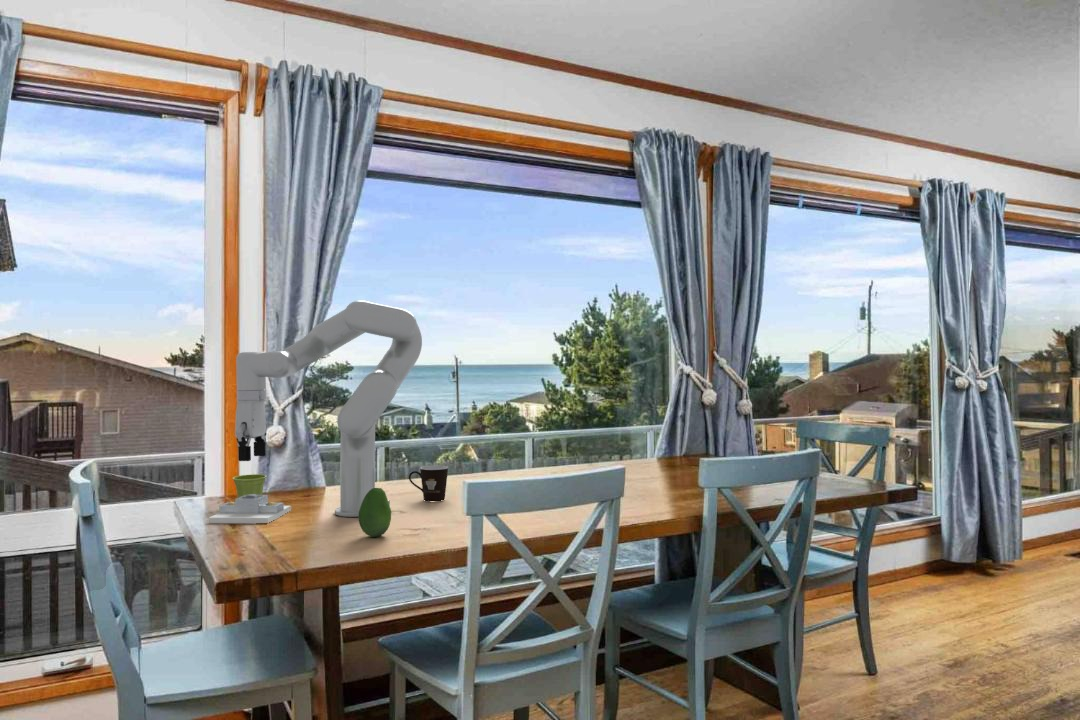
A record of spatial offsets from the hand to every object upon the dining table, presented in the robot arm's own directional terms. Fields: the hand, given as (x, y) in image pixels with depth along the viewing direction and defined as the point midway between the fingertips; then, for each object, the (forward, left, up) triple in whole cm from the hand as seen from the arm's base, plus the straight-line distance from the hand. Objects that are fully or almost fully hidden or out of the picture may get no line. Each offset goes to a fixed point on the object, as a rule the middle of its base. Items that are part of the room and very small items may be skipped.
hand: (252, 458), depth 202 cm
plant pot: (+7, -15, -16) cm, 23 cm away
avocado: (-40, +21, -16) cm, 48 cm away
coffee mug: (-45, -26, -16) cm, 54 cm away
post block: (0, 0, -16) cm, 16 cm away
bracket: (0, 0, -15) cm, 15 cm away
